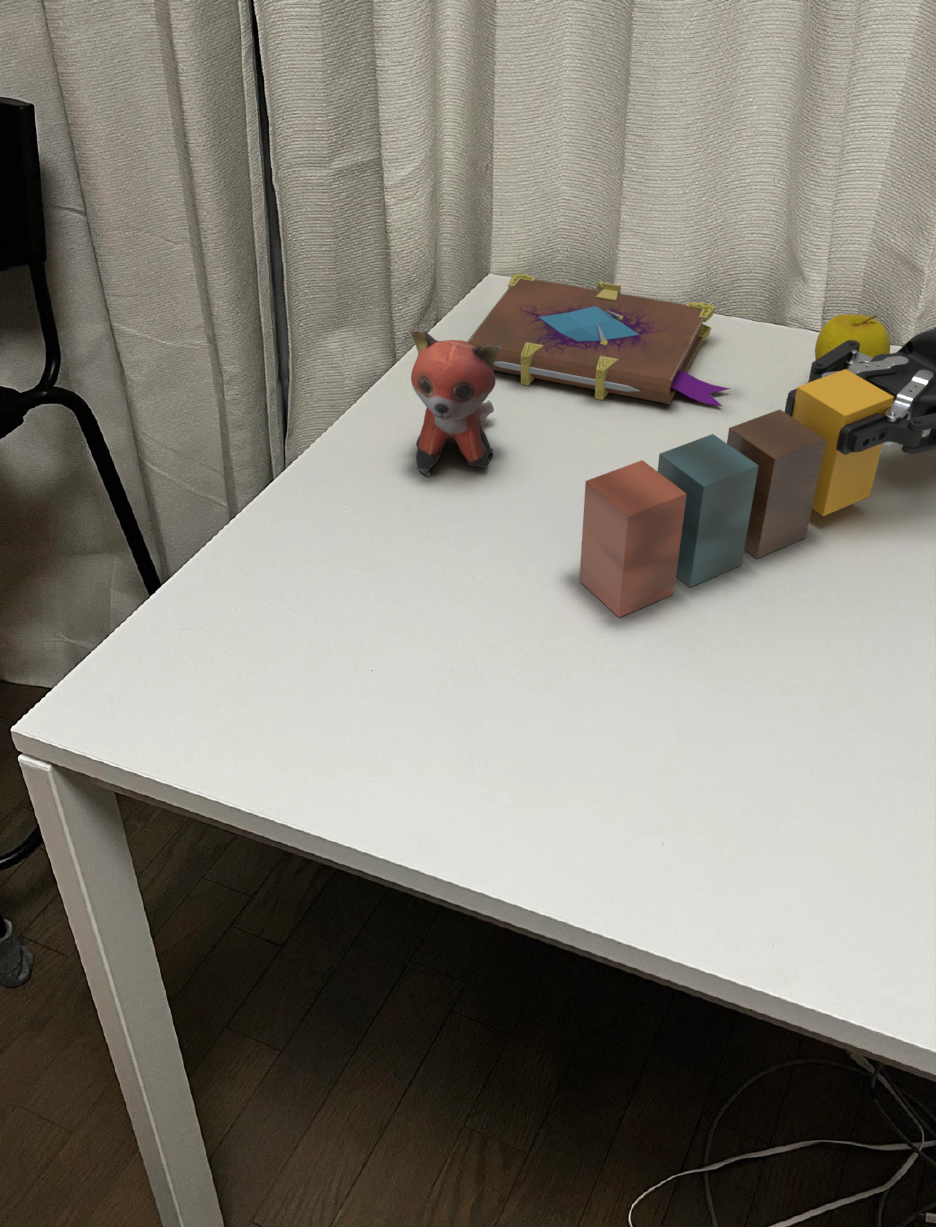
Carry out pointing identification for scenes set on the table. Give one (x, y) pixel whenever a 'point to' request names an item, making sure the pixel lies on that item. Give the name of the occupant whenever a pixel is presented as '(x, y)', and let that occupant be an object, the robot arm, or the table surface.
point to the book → (598, 339)
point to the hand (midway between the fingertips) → (815, 424)
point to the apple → (853, 335)
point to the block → (826, 414)
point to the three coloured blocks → (698, 510)
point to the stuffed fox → (453, 397)
